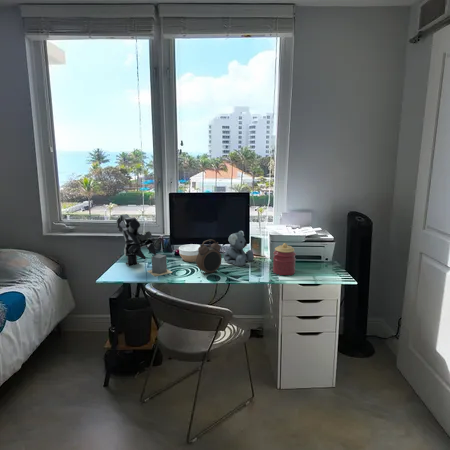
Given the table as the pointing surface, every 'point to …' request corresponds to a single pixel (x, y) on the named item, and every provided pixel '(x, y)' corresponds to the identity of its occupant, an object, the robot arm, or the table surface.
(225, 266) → the table surface
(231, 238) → the koala plush
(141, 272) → the table surface
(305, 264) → the table surface
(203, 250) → the alarm clock
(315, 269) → the table surface
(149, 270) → the cork mat
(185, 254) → the bowl
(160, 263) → the gray rectangular block
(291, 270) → the canister
